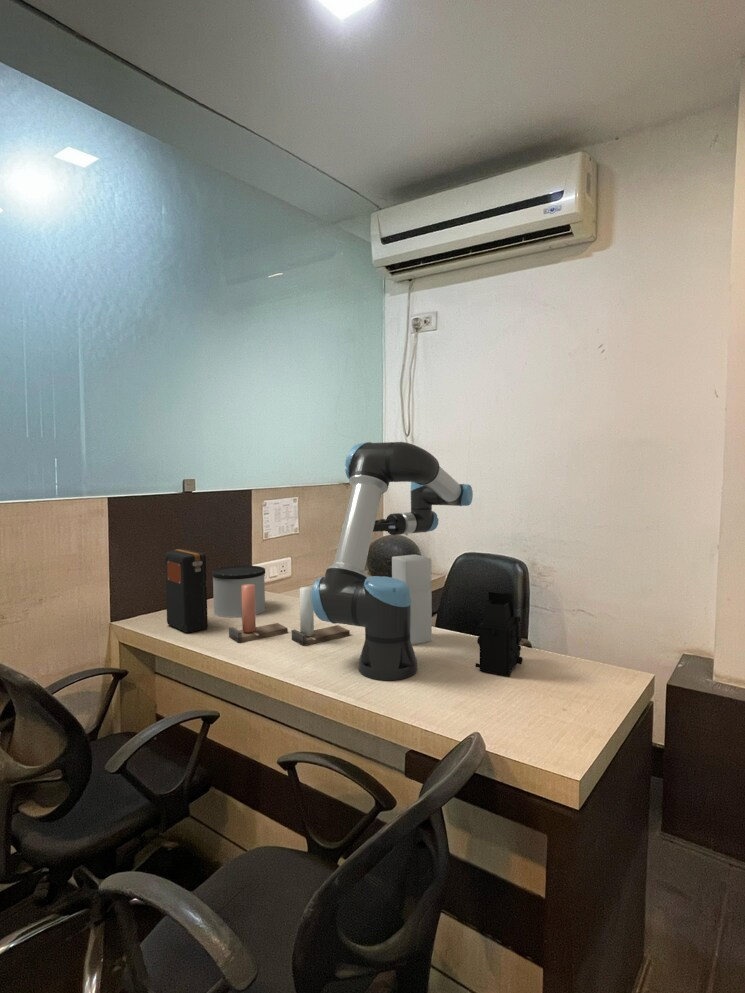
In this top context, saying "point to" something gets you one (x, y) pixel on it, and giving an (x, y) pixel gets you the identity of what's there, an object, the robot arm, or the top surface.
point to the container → (237, 589)
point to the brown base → (257, 632)
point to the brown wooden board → (319, 635)
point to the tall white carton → (416, 593)
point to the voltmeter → (186, 590)
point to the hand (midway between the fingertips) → (343, 528)
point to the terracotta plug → (248, 608)
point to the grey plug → (306, 611)
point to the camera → (499, 635)
